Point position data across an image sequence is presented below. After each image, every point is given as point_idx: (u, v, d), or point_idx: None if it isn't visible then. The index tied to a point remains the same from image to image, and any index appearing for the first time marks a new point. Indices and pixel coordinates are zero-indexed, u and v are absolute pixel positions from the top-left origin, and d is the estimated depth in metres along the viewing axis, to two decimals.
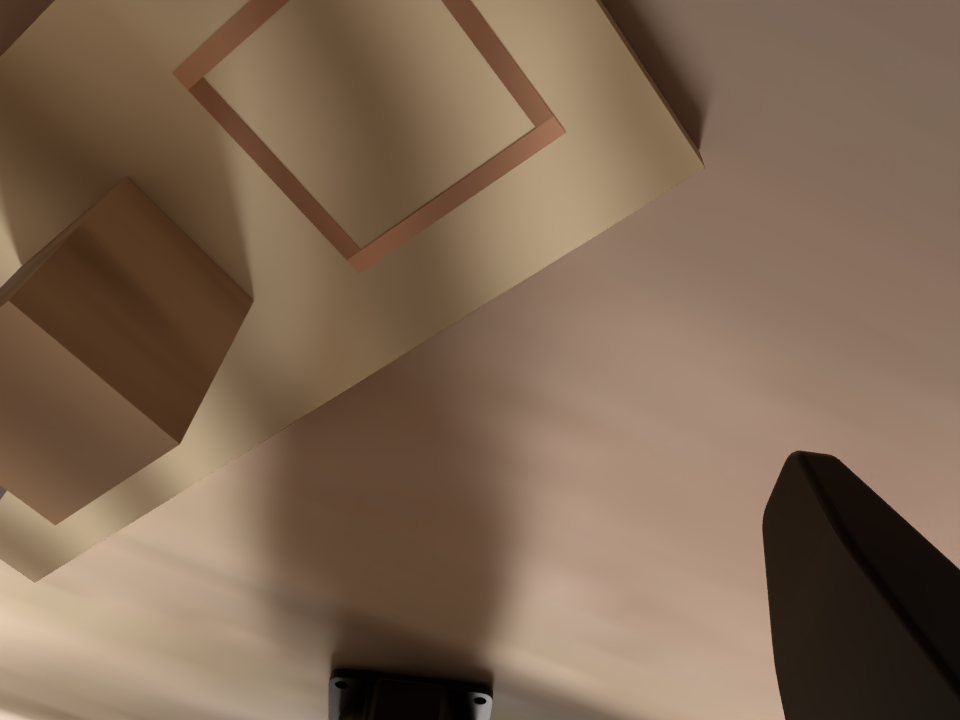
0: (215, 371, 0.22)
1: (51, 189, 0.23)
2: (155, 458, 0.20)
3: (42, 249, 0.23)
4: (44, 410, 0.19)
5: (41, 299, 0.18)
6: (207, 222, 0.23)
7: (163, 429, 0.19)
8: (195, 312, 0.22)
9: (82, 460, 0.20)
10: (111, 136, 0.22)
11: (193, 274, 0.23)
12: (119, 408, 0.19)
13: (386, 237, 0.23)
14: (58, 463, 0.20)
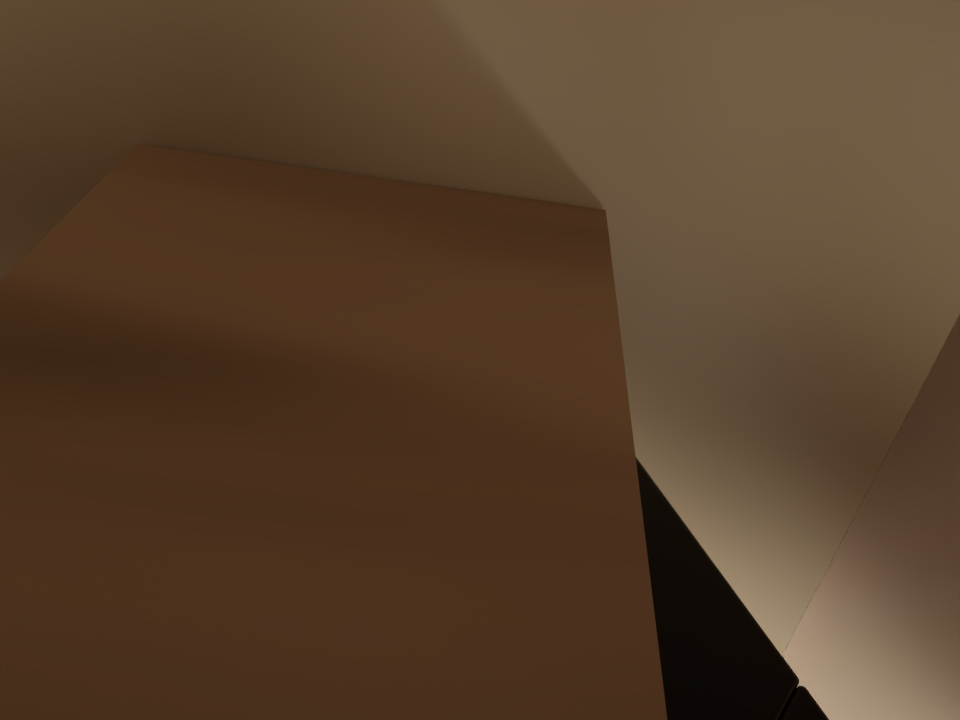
0: (627, 434, 0.06)
1: None
2: None
3: None
4: None
5: None
6: (362, 102, 0.08)
7: None
8: (461, 311, 0.07)
9: None
10: (34, 76, 0.08)
11: (409, 235, 0.08)
12: None
13: None
14: None
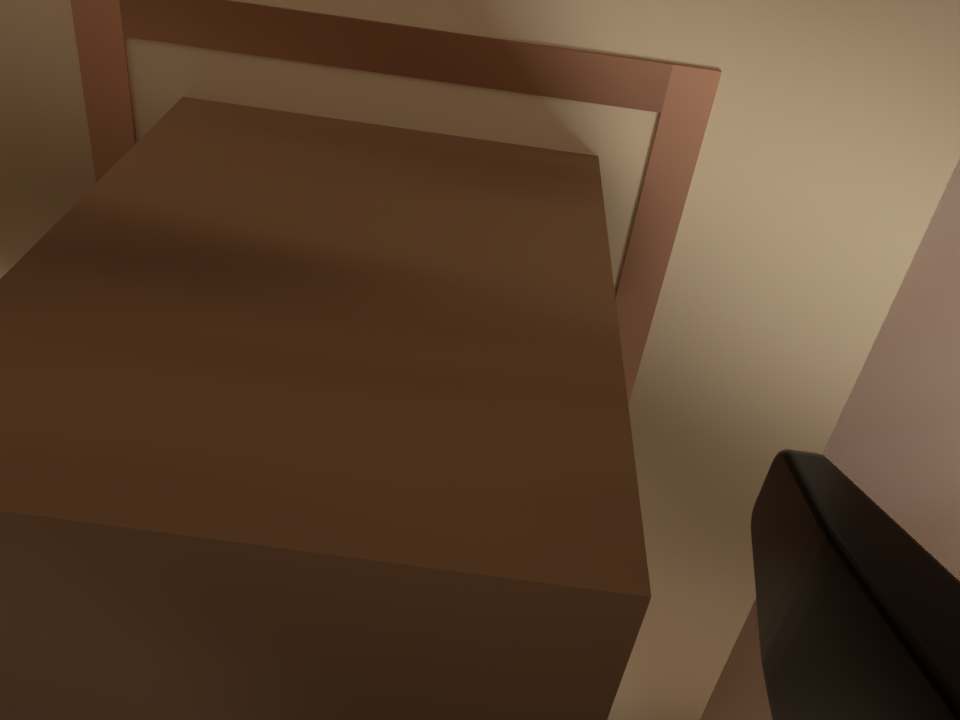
0: (613, 327, 0.07)
1: None
2: (613, 684, 0.05)
3: None
4: None
5: None
6: None
7: (560, 581, 0.05)
8: (473, 232, 0.08)
9: None
10: None
11: (425, 172, 0.09)
12: (379, 601, 0.05)
13: None
14: None
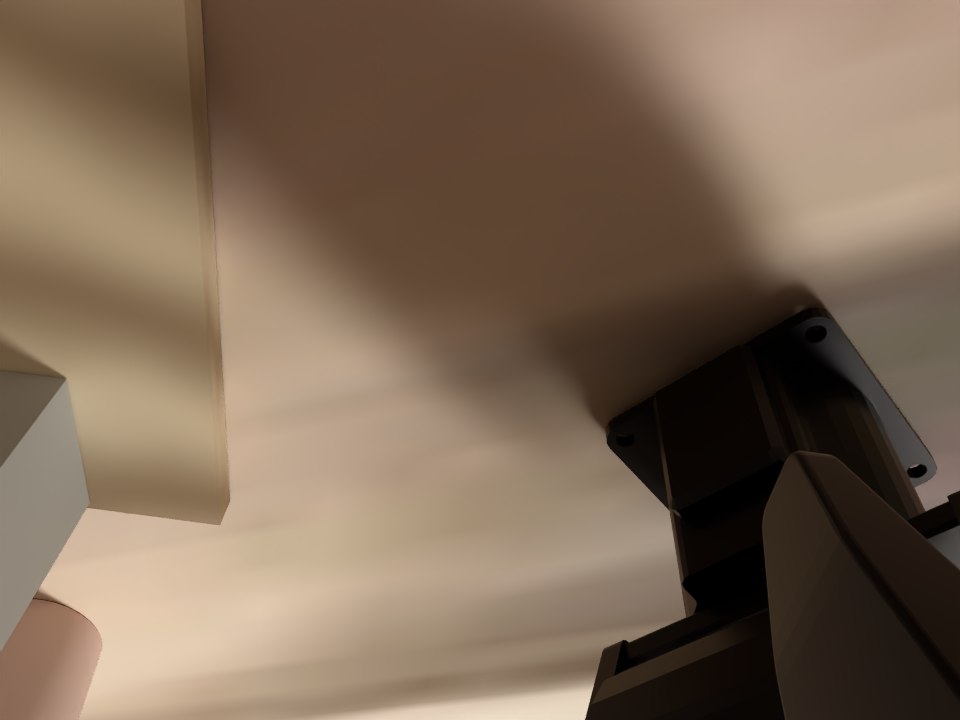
0: None
1: None
2: None
3: None
4: None
5: None
6: None
7: None
8: None
9: None
10: None
11: None
12: None
13: None
14: None
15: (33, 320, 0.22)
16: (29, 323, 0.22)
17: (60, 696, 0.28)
